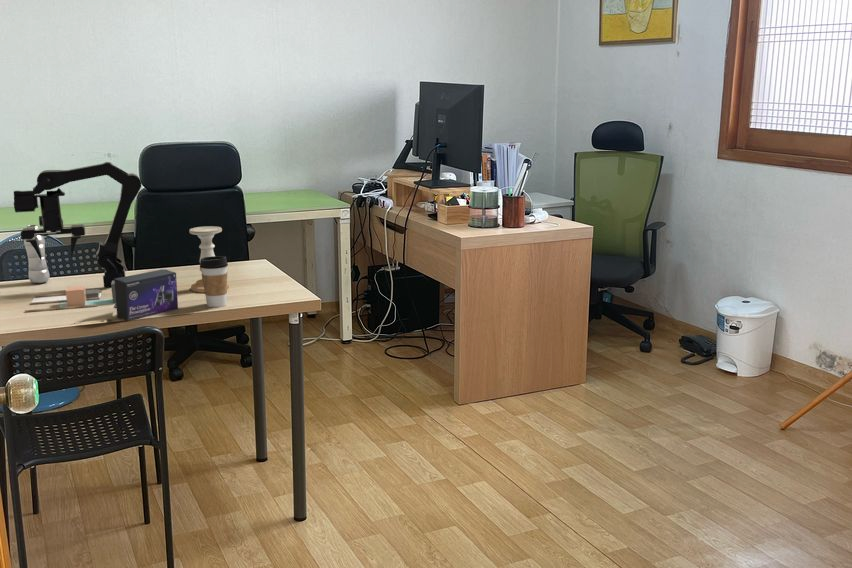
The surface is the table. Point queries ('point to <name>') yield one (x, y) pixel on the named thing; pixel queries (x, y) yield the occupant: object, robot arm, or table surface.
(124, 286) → the box
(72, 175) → the robot arm
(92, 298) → the lane rails
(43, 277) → the plastic bottle
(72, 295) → the cube
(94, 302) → the strip
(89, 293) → the strip
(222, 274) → the coffee cup
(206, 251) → the candle holder
